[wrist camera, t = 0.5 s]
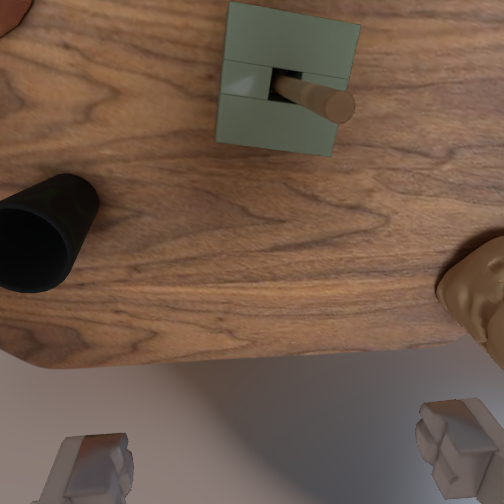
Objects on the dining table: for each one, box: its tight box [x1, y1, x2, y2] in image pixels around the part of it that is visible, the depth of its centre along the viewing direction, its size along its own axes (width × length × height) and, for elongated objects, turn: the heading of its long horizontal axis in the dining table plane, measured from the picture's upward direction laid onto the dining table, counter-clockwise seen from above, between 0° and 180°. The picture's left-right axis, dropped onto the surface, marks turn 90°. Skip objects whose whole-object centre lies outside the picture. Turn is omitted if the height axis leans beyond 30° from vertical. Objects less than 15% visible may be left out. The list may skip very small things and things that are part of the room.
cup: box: [0, 174, 99, 293], centre depth 35 cm, size 8×8×12 cm
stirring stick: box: [269, 74, 355, 124], centre depth 27 cm, size 1×1×22 cm
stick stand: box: [215, 1, 361, 157], centre depth 34 cm, size 10×10×7 cm
